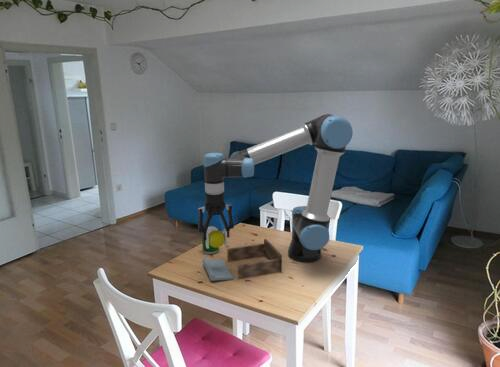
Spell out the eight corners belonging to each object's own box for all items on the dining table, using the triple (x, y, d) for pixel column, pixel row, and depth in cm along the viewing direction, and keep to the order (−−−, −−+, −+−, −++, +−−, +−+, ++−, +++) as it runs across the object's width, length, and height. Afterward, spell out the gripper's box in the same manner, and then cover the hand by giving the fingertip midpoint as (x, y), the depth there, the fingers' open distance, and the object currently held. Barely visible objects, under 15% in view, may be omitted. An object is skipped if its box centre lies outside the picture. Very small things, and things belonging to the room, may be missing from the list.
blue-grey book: (223, 256, 163) (203, 257, 160) (233, 274, 148) (211, 275, 145) (222, 261, 164) (202, 262, 161) (233, 279, 148) (211, 280, 145)
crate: (266, 255, 171) (266, 238, 169) (281, 272, 154) (281, 255, 152) (227, 261, 165) (226, 244, 163) (238, 280, 148) (238, 261, 146)
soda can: (216, 256, 170) (215, 231, 167) (200, 255, 172) (199, 230, 169) (220, 249, 177) (219, 226, 175) (205, 248, 179) (204, 225, 176)
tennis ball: (209, 251, 148) (209, 234, 146) (206, 244, 154) (206, 228, 153) (226, 249, 150) (226, 232, 148) (223, 242, 156) (222, 226, 154)
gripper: (236, 187, 153) (237, 239, 158) (188, 192, 147) (191, 245, 152) (241, 192, 146) (242, 246, 151) (191, 197, 140) (194, 253, 145)
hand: (216, 245), depth 152 cm, fingers closed on tennis ball, 7 cm apart
